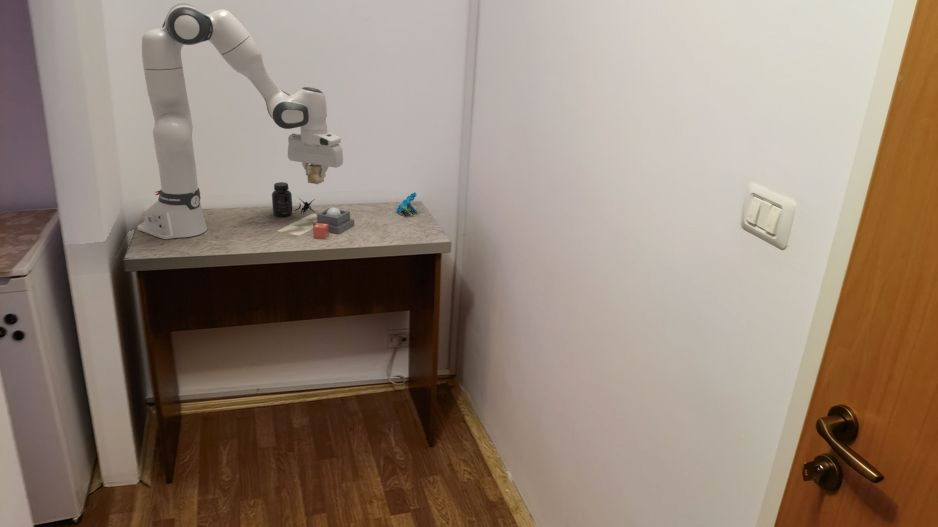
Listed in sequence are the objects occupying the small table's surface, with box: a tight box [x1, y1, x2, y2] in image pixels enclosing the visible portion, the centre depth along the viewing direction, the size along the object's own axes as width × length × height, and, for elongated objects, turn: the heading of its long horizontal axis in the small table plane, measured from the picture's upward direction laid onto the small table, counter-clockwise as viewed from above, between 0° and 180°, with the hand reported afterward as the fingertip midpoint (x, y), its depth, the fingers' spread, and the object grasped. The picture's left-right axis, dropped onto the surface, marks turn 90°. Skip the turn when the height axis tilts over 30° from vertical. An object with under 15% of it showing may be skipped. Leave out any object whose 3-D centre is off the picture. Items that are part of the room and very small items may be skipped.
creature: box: [294, 197, 316, 215], centre depth 258 cm, size 8×5×8 cm
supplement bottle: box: [271, 181, 294, 218], centre depth 253 cm, size 7×7×12 cm
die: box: [312, 223, 330, 240], centre depth 235 cm, size 4×4×4 cm
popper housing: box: [313, 207, 355, 235], centre depth 244 cm, size 10×10×6 cm
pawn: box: [306, 163, 325, 185], centre depth 246 cm, size 4×4×8 cm
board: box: [277, 213, 317, 237], centre depth 245 cm, size 20×21×1 cm
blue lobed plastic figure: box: [396, 192, 417, 217], centre depth 265 cm, size 11×6×10 cm
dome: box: [326, 206, 341, 217], centre depth 243 cm, size 5×5×5 cm
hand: (315, 176), depth 246 cm, fingers closed on pawn, 4 cm apart
